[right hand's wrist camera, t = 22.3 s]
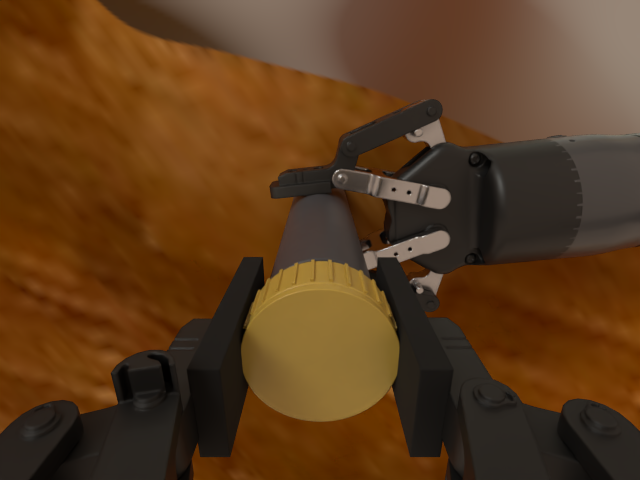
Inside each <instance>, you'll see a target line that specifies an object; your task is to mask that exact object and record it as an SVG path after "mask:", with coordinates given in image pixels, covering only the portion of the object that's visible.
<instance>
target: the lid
mask: <svg viewBox="0 0 640 480" xmlns="http://www.w3.org/2000/svg"><path fill="white" fill-rule="evenodd" d="M243 329H245V332H244V335H243V339H242V342H241V356H242V367H243V374H244V376H245V379H246V381H247V383H248V385H249V386H250V388H251V389H252V390H253V392H254V393H255V394H256V395H257V396H258V397H259V398H260V399H261V400H262V401H263V402H264V403H266V404H267V405H268V406H270V407H271V408H273V409H274V410H276V411H278V412H280V413H282V414H284V415H287V416H290V417H293V418H297V419H301V420H307V421H319V422H324V421H334V420H340V419H344V418H348V417H351V416H354V415H356V414H359V413H361V412H363V411H365V410H367V409H368V408H370V407H371V406H373V405H374V404H376V403H377V402H378V401H379V400H380V399H381V398H382V397H383V396H384V395H385V394H386V393H387V392H388V390H389V389H390V387H391V386H392V384H393V383H394V381H395V379H396V376H397V371H398V360H399V349H400V343H399V339H398V336H397V333H396V331H397V325H396V322H395V320H394V317H393V314H392V311H391V308H390V305H389V304H388V302H387V299H386V296H385V293H384V292H383V291H380V290H379V289H378V287H377V285H376V282H375V280H374V279H372V280H370V279H369V278H368V277H367V276H365V275H364V274H363V271H362V270H360V271H358V270H356V269H354V268H351V267H349V266H348V264H347V263H345V264H344V265H343V264H340V263H335V262H332V260H328V261H315V260H311V262H306V263H301V264H298V262H297V263H295V264H294V266H292V267H289V268H287V269H285V270H283V269H281V270H280V271H279V273H278V274H277V275H275V276H274V277H273V278H272V279H270V278H268V279H267V281H266V285H265V286H264V287H263V288H262V290H258V291H257V294H256V297H255V300H254V303H253V302H252V304H251V307H250V310H249V312H248V315H247V318H246V321H245V324H244V327H243Z"/></svg>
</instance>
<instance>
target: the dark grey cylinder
mask: <svg viewBox="0 0 640 480" xmlns="http://www.w3.org/2000/svg"><path fill="white" fill-rule="evenodd" d="M331 191H332V193H327V194H315V195H307V196H297V197H294V199H293V203H292V206H291V209H290V213H289V216H288V220H287V223H286V226H285V230H284V233H283V237H282V240H281V243H280V247H279V250H278V254H277V257H276V260H275V264H274V267H273V271H272V274H271V277H270V279H272V278H273V277H274V276H275V275H277V274H278V273H279V271H280V270H281V269H283V270H285V269H287V268H289V267H292V266H294V264H295V263H297V262H298V264H301V263H306V262H311V260H315V261H328V260H332V262H335V263H340V264H343V265H344V264H345V263H347V264H348V266H349V267H351V268H354V269H356V270H358V271H360V270H362V271H363V274H364V275H365V276H367V277H368V278H369V279H370V280H371V278H370V275H369V272H368V268H367V265H366V261H365V258H364V255H363V251H362V248H361V244H360V241H359V238H358V234H357V231H356V228H355V224H354V221H353V217H352V214H351V211H350V207H349V204H348V200H347V197H346V194H345V190H343V189H338V188H332V189H331Z"/></svg>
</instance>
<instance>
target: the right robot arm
mask: <svg viewBox="0 0 640 480" xmlns="http://www.w3.org/2000/svg"><path fill="white" fill-rule="evenodd" d="M376 285H377V287H378V289H379V290H380V291H383V292H384V293H385V296H386V299H387V302H388V304H389V305H390V308H391V311H392V314H393V317H394V320H395V322H396V325H397V331H396V333H397V336H398V339H399V343H400V349H399V360H398V371H397V376H396V379H395V381H394V383H393V384H392V388H393V392H394V396H395V400H396V404H397V407H398V411H399V415H400V419H401V423H402V427H403V431H404V435H405V438H406V442H407V446H408V450H409V454H410V457H440V454H441V448H442V442H444V445H445V448H446V451H447V453H448V456H449V459H448V465H447V471H446V477H445V480H640V431H639V430H638V429H637V428H636V427H635V426H634V425H633V424H632V423H631V422H630V421H628V420H627V419H626V418H625V417H623V416H622V415H621V414H620V413H618V412H617V411H615V410H613V409H611V408H609V407H607V406H606V405H603V404H600V403H597V402H594V401H591V400H585V399H573V400H568V401H567V402H566V403H565V404H564V405H563V408H562V411H561V413H558V412H554V411H549V410H545V409H541V408H537V407H533V406H530V405H526V404H523V403H522V402H521V400H520V399H519V397H518V396H517V394H516V393H515V392H514V391H512V390H511V389H510V388H509V387H508V386H506V385H504V384H502V383H500V382H498V381H496V380H493V379H492V378H491V376H490V375H489V373H488V371H487V370H486V368H485V367H484V365H483V364H482V362H481V360H480V359H479V357H478V356H477V354H476V353H475V351H474V349H472V346H471V345H470V343H469V342H468V340H466V337H465V335H464V334H463V332H462V331H461V329H460V327H459V326H457V325H456V324H455V323H453V322H452V321H451V320H449V319H448V318H427V316H426V314H425V312H424V310H423V308H422V306H421V304H420V302H419V300H418V298H417V296H416V294H415V292H414V290H413V289H412V287H411V285H410V283H409V281H408V279H407V277H406V275H405V273H404V271H403V269H402V267H401V265H400V263H399V261H398V259H397V257H378V258H377V275H376ZM263 287H264V269H263V257H244V258H243V260H242V262H241V264H240V266H239V268H238V270H237V272H236V274H235V276H234V277H233V279H232V281H231V283H230V285H229V287H228V289H227V291H226V293H225V295H224V297H223V299H222V301H221V303H220V305H219V307H218V309H217V311H216V313H215V315H214V317H213V319H193V320H191V321H190V322H189V323H187V324H186V325H185V326H183V327H182V328H181V329H180V331H179V333H178V334H177V336H176V337H175V341H173V342H172V344H171V345H170V347H169V350H167V352H166V351H163V350H148V351H144V352H140V353H137V354H134V355H132V356H130V357H128V358H126V359H124V360H123V361H122V362H120V363H119V364H118V365H117V366H116V367H115V368H114V370H113V371H112V372H111V376H112V380H113V384H114V388H115V392H116V396H117V400H118V405H115V406H112V407H109V408H106V409H101V410H97V411H93V412H89V413H85V414H80V413H79V409H78V407H77V406H76V405H75V404H74V403H73V402H71V401H65V400H60V401H52V402H48V403H45V404H42V405H39V406H36V407H35V408H33V409H31V410H29V411H27V412H25V413H24V414H22V415H21V416H19V417H18V418H17V419H16V420H15V421H13V422H12V423H11V424H10V425H9V426H8V427H7V428H6V429H5V430H4V431H3V432H2V433H1V434H0V480H193V474H194V472H193V465H192V456H193V453H194V451H195V448H196V445H197V443H198V446H199V452H200V457H230V455H231V452H232V448H233V444H234V440H235V436H236V432H237V428H238V424H239V420H240V417H241V413H242V409H243V405H244V401H245V397H246V393H247V389H248V383H247V381H246V379H245V376H244V374H243V367H242V356H241V342H242V339H243V335H244V332H245V329H243V327H244V324H245V321H246V318H247V315H248V312H249V310H250V307H251V304H252V302H253V303H254V300H255V297H256V294H257V291H258V290H262V288H263Z"/></svg>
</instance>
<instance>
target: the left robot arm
mask: <svg viewBox="0 0 640 480" xmlns="http://www.w3.org/2000/svg"><path fill="white" fill-rule="evenodd" d="M441 115H442V105H441V103H440V102H439V101H437V100H434V99H431V100H419V101H416V102H414V103H412V104H410V105H407V106H405V107H403V108H401V109H399V110H396V111H394V112H392V113H390V114H387V115H385V116H383V117H381V118H379V119H376V120H374V121H372V122H370V123H367V124H365V125H363V126H361V127H359V128H356V129H354V130H352V131H350V132H348V133H345V134H343V135H342V136H341V137H340V139H339V145H338V148H337V152H336V156H335V159H334V160H333V162H332V163H330V164H329V165H325V166H317V167H307V168H298V169H288V170H286V171H284V172H282V173H280V175H279V177H278V180H279V181H274V182H272V183H271V185H270V193H271V198H274V199H277V198H287V197H297V196H307V195H315V194H327V193H332V191H331V189H332V188H338V189H343V190H348V191H354V192H360V193H365V194H369V195H371V196H374V197H378V198H383V202H384V205H385V208H386V215H385V219H384V228H383V229H381V230H378V231H375V232H373V233H371V234H369V235H368V236H367V237H366V238H364V239H361V240H359V241H360V244H361V248H362V251H363V255H364V258H365V261H366V265H367V268H368V272H369V275H370V278H371V280H372V279H374V280H375V282H376V275H377V271H374V270H369V269H372V268H375V267H377V258H378V257H397V259H398V261H399V262H402V261H405V260H407V259H410V260H412V261H414V262H415V263H417V264H419V265H421V266H423V267H424V268H425V269H424V270H423V271H421V272H410V273H409V274H408V275H407V276H406V277H407V279H408V281H409V283H410V285H411V287H412V289H413V290H414V292H415V294H416V296H417V298H418V300H419V302H420V304H421V306H422V308H423V310H424V311H426V312H432V311H435V310H436V309H437V308H438V307H439V300H438V298H437V297H436V293H437V290H438V287H439V285H440V282H441V279H442V276H443V274H447V273H450V272H452V271H453V270H455V269H457V268H459V267H461V266H464V265H494V264H505V263H515V262H526V261H536V260H547V259H557V258H568V257H579V256H589V255H596V254H601V253H606V252H610V251H615V250H619V249H624V248H630V247H639V246H640V133H635V134H626V135H596V134H595V135H594V134H591V135H575V136H562V135H557V136H551V137H547V138H546V139H538V140H528V141H518V142H509V143H499V144H490V145H480V146H471V147H459V146H457V145H455V144H453V143H449V142H446V141H445V138H444V134H443V131H442V128H441V125H440V121H439V118H440V117H441ZM401 136H403V137H404V139H406V140H407V141H410V142H419V141H423V142H424V143H425V144H426V146H427V147H425V148H424V149H423V150H422V151H421V152H419V153H418V154H417V155H416V156H415V157H413V158H412V159H411V160H410V161H409V162H408V163H406V164H405V165H404V166H403V167H402V168H400V169H399V170H398V171H397V172H394V171H389V170H383V169H378V168H371V167H368V168H367V167H361V166H356V163H357V159H358V156H359V155H360V154H362V153H365V152H367V151H369V150H371V149H374V148H376V147H378V146H380V145H383V144H385V143H387V142H390V141H392V140H394V139H396V138H399V137H401ZM395 252H396V253H395Z"/></svg>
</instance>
